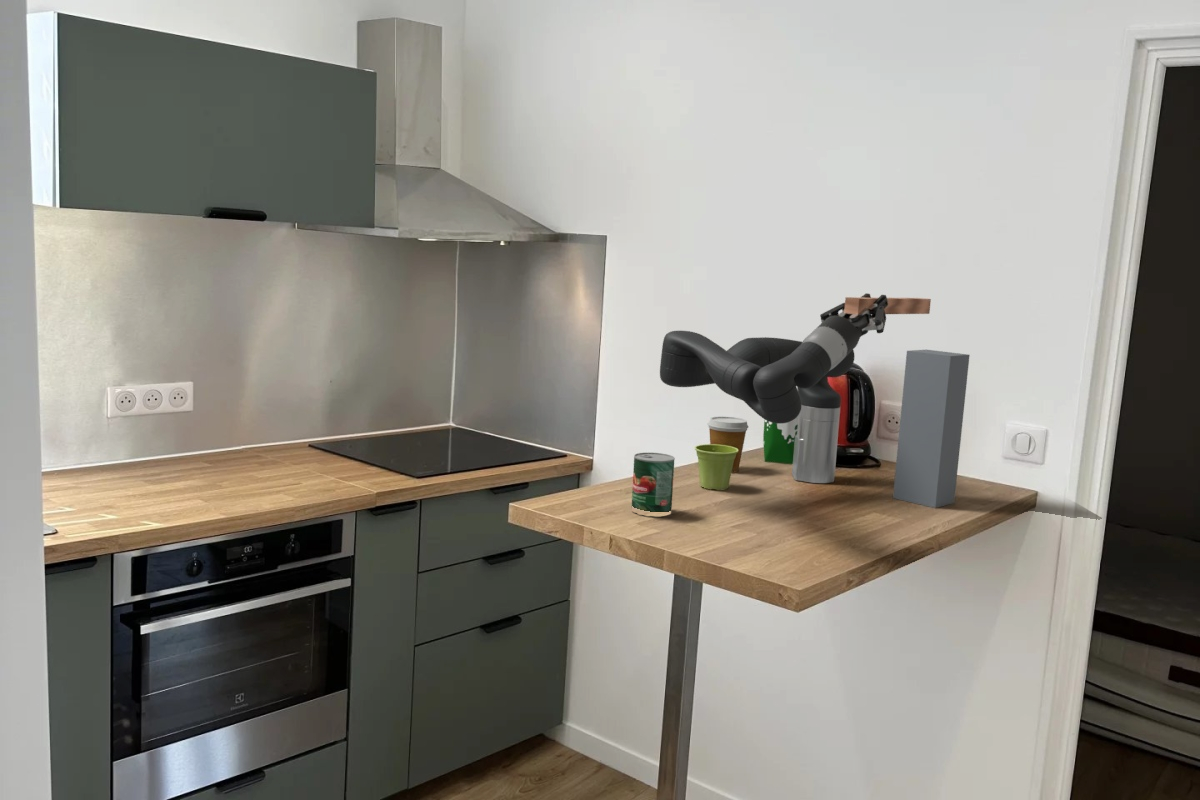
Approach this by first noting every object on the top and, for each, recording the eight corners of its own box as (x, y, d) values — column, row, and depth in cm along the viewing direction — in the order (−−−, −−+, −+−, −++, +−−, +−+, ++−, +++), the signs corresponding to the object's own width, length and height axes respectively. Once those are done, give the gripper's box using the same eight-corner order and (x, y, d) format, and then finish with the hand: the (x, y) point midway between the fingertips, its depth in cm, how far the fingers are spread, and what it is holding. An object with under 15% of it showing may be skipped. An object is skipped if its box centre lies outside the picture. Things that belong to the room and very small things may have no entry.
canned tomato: (678, 511, 203) (681, 456, 202) (661, 519, 196) (664, 462, 195) (641, 504, 207) (644, 450, 205) (623, 512, 200) (627, 456, 198)
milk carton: (762, 455, 263) (768, 377, 260) (798, 458, 261) (804, 380, 258) (760, 462, 255) (766, 381, 252) (798, 465, 253) (804, 384, 250)
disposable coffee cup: (748, 468, 247) (752, 418, 245) (740, 476, 238) (744, 424, 236) (709, 463, 250) (713, 414, 248) (700, 471, 241) (703, 420, 239)
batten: (857, 314, 193) (859, 298, 192) (844, 313, 195) (845, 297, 194) (929, 313, 210) (930, 299, 210) (916, 312, 212) (917, 297, 212)
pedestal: (935, 508, 216) (950, 356, 212) (892, 497, 224) (906, 350, 219) (954, 502, 222) (969, 354, 217) (912, 493, 229) (926, 349, 224)
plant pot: (714, 494, 218) (716, 454, 217) (683, 485, 226) (685, 446, 224) (744, 489, 224) (747, 450, 223) (713, 480, 231) (716, 442, 230)
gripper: (857, 331, 183) (906, 283, 192) (792, 323, 193) (842, 278, 202) (865, 366, 187) (913, 318, 196) (801, 357, 197) (849, 312, 206)
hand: (876, 298), depth 199 cm, fingers closed on batten, 3 cm apart
